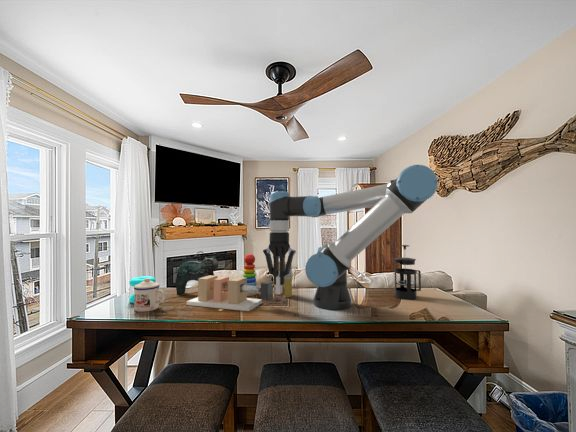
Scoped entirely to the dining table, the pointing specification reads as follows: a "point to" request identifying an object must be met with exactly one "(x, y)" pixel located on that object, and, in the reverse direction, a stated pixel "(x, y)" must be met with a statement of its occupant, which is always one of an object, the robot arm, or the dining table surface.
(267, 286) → the shaft
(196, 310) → the dining table surface
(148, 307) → the teacup with lid
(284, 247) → the robot arm
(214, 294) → the shaft bracket
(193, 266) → the dark teal curved piece
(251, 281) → the stacking toy
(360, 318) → the dining table surface
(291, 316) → the dining table surface
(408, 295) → the french press
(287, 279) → the candy box
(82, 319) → the dining table surface
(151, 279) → the donuts
